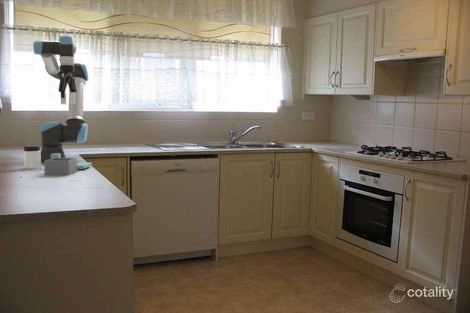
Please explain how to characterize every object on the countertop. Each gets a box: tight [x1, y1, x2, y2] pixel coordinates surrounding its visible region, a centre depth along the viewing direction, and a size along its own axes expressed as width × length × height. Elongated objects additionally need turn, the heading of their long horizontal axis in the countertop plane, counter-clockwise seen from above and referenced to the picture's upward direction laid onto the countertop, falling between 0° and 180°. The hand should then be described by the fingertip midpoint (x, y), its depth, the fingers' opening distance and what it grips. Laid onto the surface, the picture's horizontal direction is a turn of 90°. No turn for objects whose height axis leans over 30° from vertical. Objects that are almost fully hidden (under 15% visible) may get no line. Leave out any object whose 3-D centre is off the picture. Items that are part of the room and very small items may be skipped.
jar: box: [22, 144, 42, 170], centre depth 269 cm, size 9×8×12 cm
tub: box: [43, 157, 78, 176], centre depth 252 cm, size 12×12×7 cm
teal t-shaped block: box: [51, 153, 93, 171], centre depth 269 cm, size 13×20×8 cm, turn 88°
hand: (68, 104), depth 274 cm, fingers open, 13 cm apart
